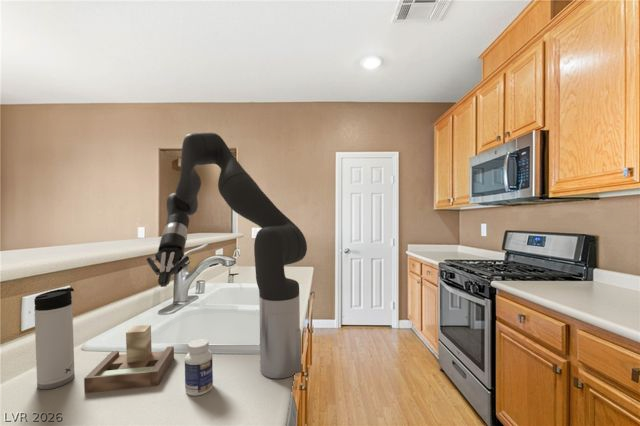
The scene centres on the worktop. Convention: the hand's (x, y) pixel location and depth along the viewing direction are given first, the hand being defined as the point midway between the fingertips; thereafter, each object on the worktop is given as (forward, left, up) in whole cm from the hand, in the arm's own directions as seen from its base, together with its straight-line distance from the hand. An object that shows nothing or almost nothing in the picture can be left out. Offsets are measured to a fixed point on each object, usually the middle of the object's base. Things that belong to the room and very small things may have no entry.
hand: (162, 285), depth 92 cm
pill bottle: (-16, +31, -15) cm, 38 cm away
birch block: (0, +18, -13) cm, 22 cm away
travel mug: (+15, +22, -15) cm, 31 cm away
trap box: (0, +22, -15) cm, 26 cm away
